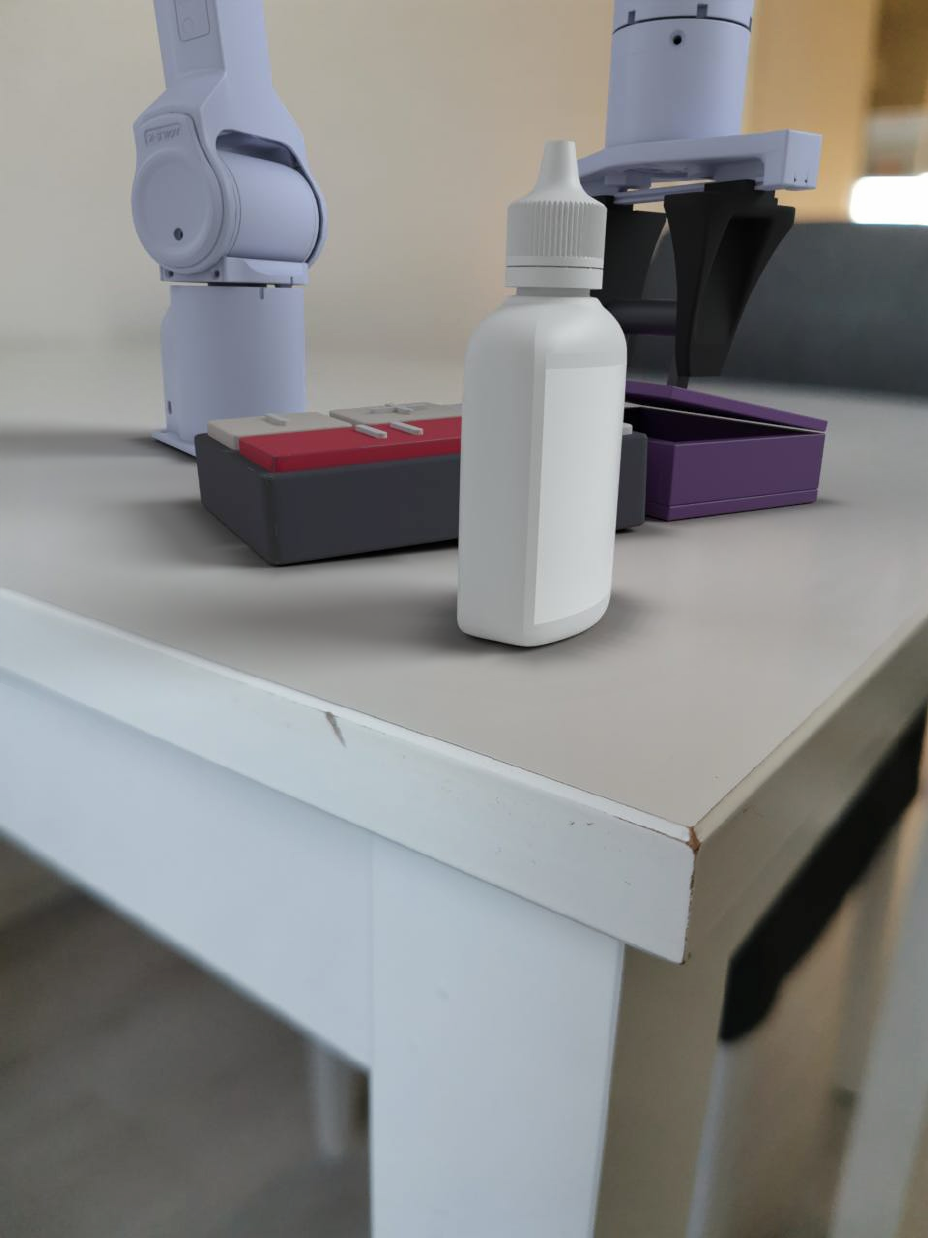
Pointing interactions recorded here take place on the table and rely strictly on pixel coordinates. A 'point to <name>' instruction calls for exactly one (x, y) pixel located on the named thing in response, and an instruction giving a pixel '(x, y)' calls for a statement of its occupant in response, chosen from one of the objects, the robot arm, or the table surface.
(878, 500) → the table surface
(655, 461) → the purple box
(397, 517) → the grey and red box
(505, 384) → the eye dropper bottle
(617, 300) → the purple lid
